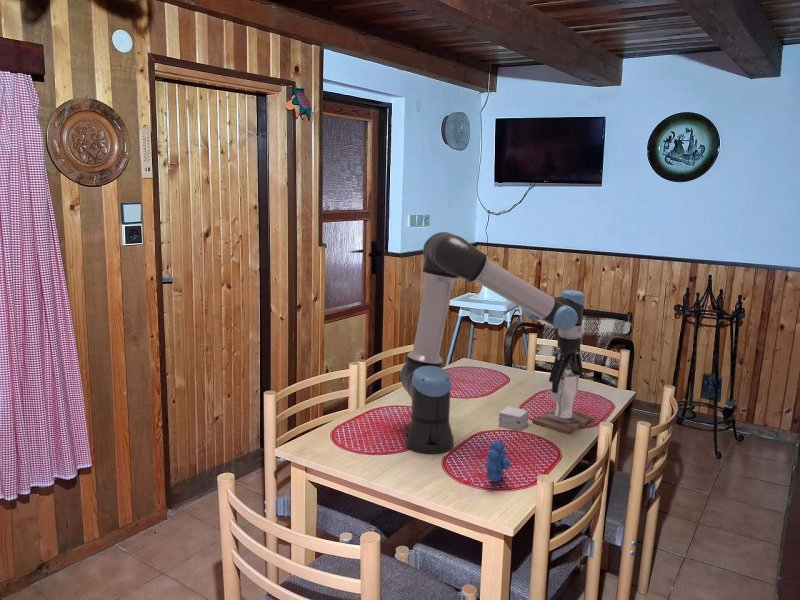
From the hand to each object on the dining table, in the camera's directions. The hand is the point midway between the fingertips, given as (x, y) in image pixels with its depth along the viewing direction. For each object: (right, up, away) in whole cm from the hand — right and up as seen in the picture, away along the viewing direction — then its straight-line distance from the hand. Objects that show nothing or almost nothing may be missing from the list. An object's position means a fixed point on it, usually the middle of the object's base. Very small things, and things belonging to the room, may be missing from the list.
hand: (564, 397), depth 226 cm
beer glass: (0, -7, +1) cm, 7 cm away
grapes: (-29, -17, -46) cm, 57 cm away
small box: (-18, -9, -3) cm, 20 cm away
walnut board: (0, -9, +2) cm, 9 cm away
